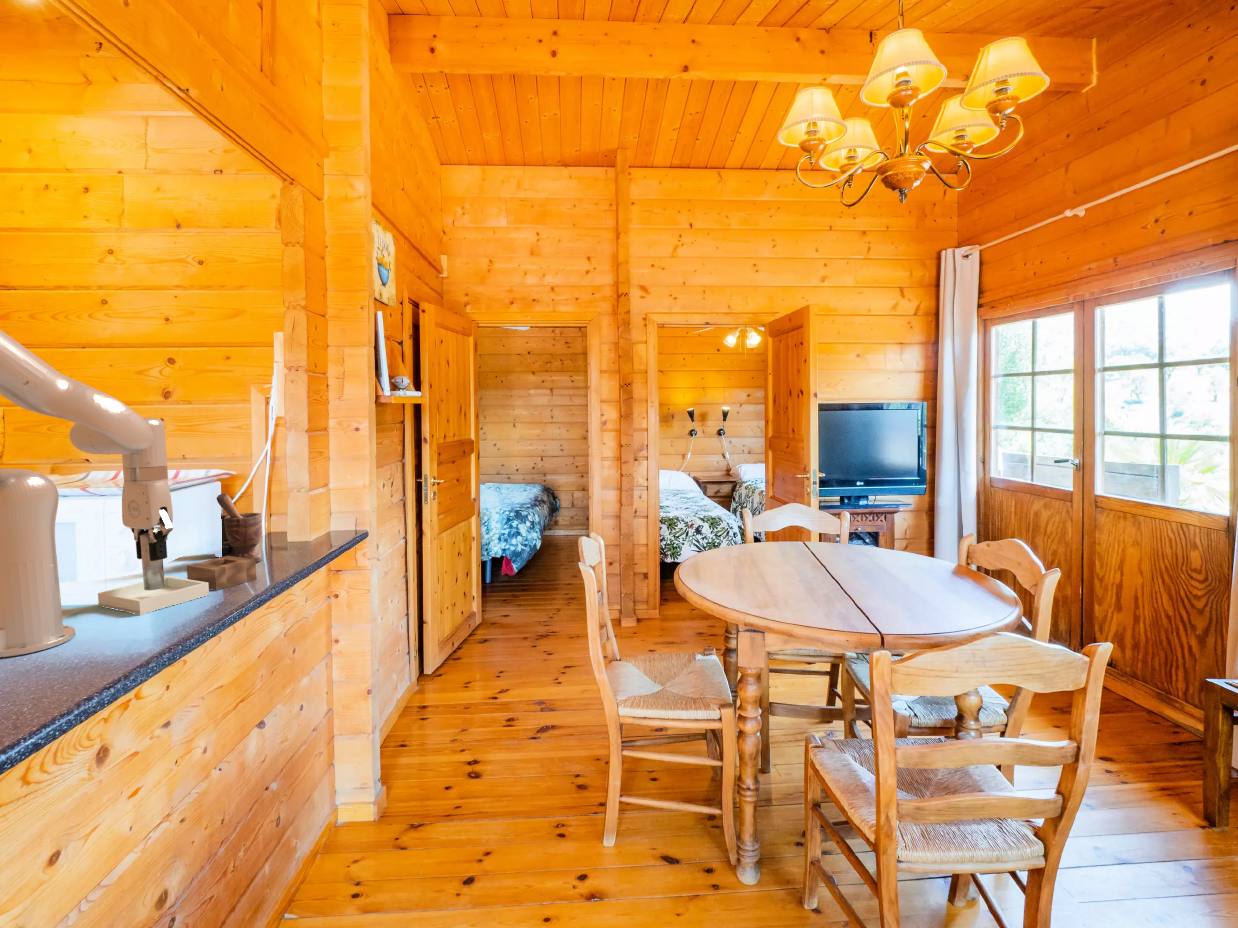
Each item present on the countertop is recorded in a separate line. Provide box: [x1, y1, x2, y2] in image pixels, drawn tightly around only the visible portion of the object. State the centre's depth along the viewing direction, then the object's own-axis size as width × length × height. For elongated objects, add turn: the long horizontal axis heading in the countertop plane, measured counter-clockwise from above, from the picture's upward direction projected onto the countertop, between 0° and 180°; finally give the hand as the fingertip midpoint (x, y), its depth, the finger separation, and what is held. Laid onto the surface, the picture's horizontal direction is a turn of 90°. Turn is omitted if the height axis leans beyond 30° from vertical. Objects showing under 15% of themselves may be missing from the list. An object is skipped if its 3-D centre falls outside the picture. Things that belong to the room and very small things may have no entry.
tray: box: [97, 575, 210, 616], centre depth 131 cm, size 14×14×3 cm
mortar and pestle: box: [216, 493, 263, 563], centre depth 162 cm, size 12×9×20 cm
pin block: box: [186, 556, 257, 591], centre depth 145 cm, size 10×10×5 cm
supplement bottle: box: [220, 512, 236, 557], centre depth 172 cm, size 7×7×12 cm
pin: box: [140, 531, 165, 590], centre depth 131 cm, size 4×4×12 cm
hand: (152, 557), depth 130 cm, fingers closed on pin, 3 cm apart
